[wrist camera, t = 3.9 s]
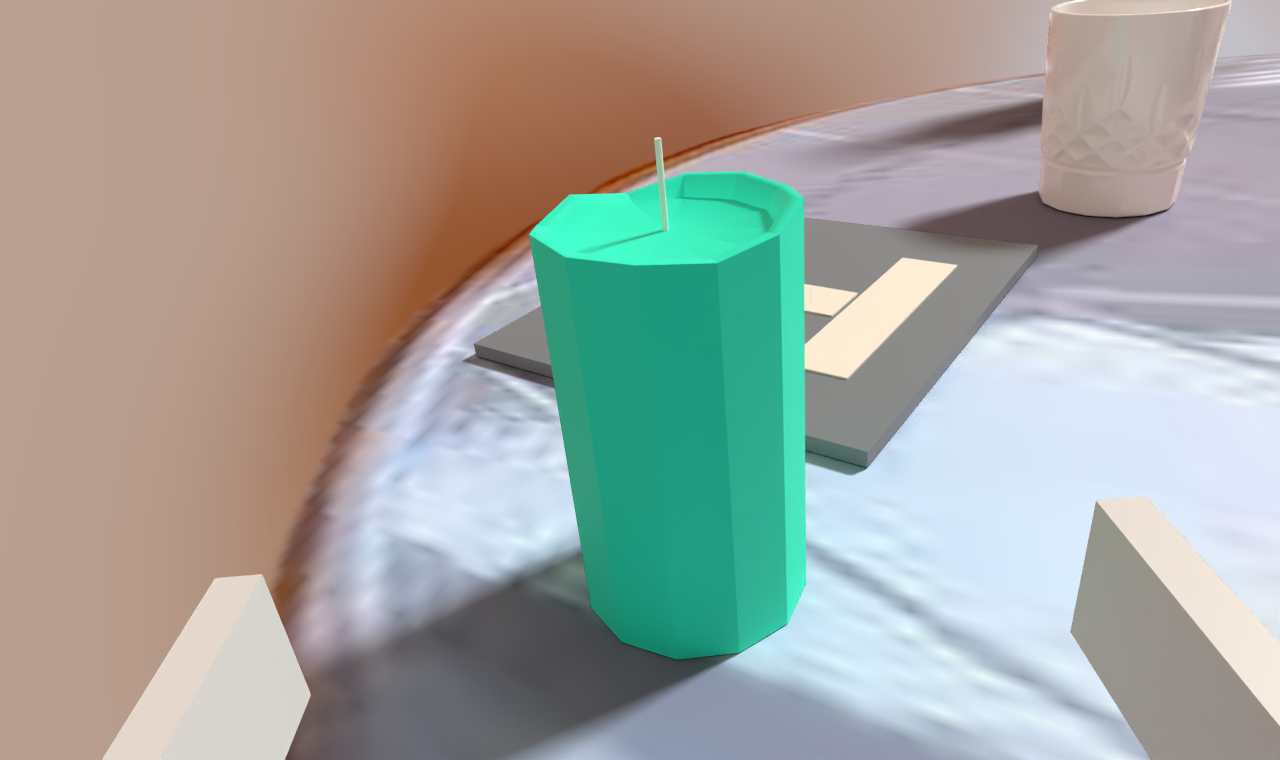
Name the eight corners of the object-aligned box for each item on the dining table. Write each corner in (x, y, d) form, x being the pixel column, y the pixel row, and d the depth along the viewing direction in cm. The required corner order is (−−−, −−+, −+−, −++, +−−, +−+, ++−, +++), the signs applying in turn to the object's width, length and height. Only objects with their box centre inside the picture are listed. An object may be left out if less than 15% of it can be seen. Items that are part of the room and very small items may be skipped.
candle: (809, 515, 25) (809, 100, 20) (800, 671, 20) (796, 171, 14) (615, 505, 27) (562, 115, 21) (561, 648, 22) (470, 184, 16)
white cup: (999, 191, 50) (1019, 7, 45) (1121, 171, 51) (1153, -11, 46) (1085, 231, 43) (1119, 19, 38) (1224, 208, 44) (1274, -2, 39)
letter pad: (717, 217, 51) (716, 206, 50) (1036, 256, 41) (1038, 243, 40) (476, 356, 37) (473, 342, 37) (867, 467, 27) (867, 449, 27)
